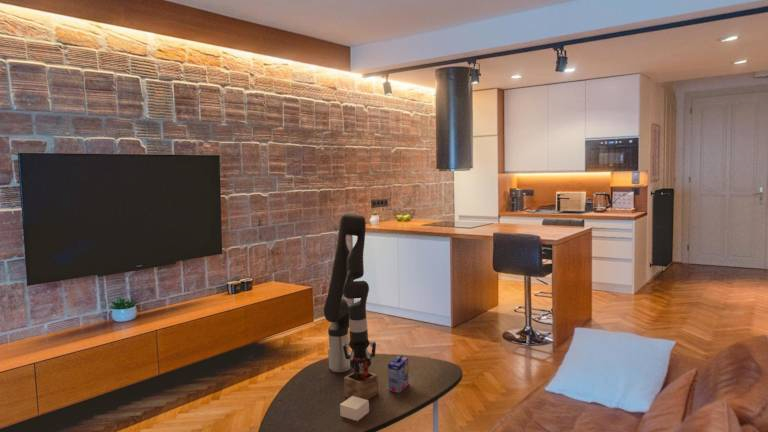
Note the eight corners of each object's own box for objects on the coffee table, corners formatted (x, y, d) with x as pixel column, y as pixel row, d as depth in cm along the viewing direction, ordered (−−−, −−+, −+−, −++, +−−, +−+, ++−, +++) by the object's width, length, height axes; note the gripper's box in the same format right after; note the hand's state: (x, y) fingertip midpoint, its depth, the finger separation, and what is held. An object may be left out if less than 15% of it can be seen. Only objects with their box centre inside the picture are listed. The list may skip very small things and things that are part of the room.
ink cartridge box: (399, 393, 222) (398, 360, 220) (388, 391, 225) (386, 358, 223) (409, 383, 231) (408, 352, 229) (398, 381, 234) (396, 350, 232)
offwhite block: (340, 416, 206) (339, 404, 206) (352, 407, 213) (352, 395, 212) (357, 421, 202) (356, 409, 201) (369, 412, 209) (368, 400, 208)
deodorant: (357, 381, 218) (355, 347, 216) (351, 376, 223) (349, 342, 221) (370, 378, 221) (368, 343, 219) (364, 373, 226) (362, 339, 224)
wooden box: (344, 396, 223) (343, 377, 221) (361, 387, 230) (360, 368, 229) (362, 403, 216) (361, 383, 215) (378, 393, 224) (377, 374, 222)
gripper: (341, 333, 215) (343, 372, 217) (376, 330, 216) (378, 369, 218) (340, 326, 222) (343, 365, 225) (374, 323, 224) (377, 361, 226)
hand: (360, 366), depth 221 cm, fingers closed on deodorant, 6 cm apart
